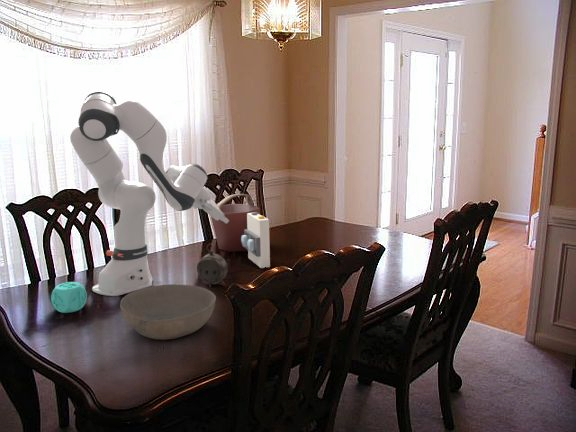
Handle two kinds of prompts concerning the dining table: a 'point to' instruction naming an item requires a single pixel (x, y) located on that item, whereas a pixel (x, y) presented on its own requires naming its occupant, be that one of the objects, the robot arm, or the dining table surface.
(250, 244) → the button lit
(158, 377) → the dining table surface
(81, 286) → the decorative dice
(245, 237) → the button unlit
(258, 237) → the button panel
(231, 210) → the bucket
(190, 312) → the bowl
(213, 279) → the alarm clock
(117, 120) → the robot arm
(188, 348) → the dining table surface
